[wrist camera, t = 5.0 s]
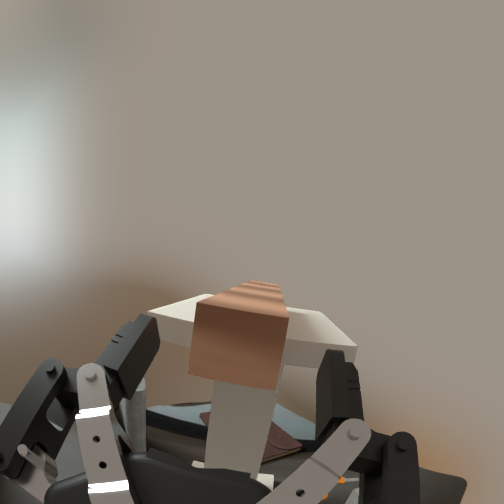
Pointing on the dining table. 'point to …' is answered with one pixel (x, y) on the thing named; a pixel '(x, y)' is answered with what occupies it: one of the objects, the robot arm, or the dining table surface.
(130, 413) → the hip flask
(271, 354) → the bar
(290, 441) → the notebook
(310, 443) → the dining table surface
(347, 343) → the stand
